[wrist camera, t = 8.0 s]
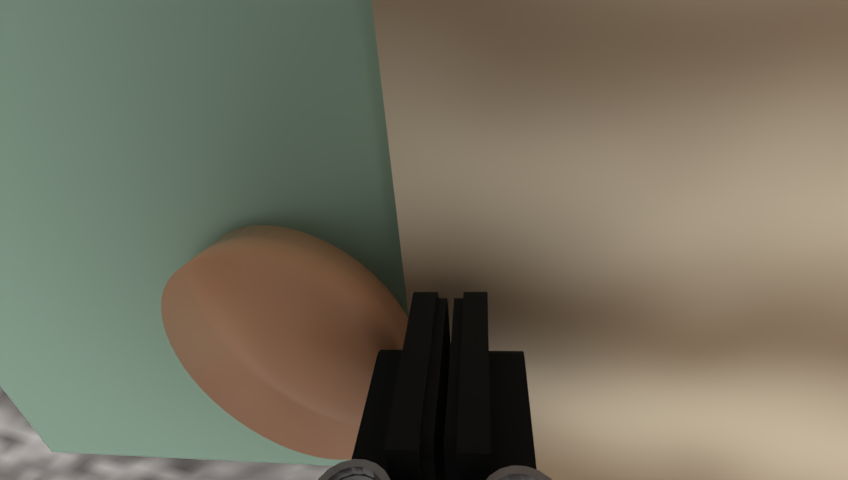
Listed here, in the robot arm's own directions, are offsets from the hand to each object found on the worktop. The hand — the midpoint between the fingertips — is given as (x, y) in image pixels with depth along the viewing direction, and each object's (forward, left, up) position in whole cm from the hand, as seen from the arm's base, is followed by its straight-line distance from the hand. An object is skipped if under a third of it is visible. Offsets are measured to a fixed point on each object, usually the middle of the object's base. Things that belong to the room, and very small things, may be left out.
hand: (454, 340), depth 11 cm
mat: (0, -9, -3) cm, 10 cm away
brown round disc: (+1, -4, -2) cm, 5 cm away
